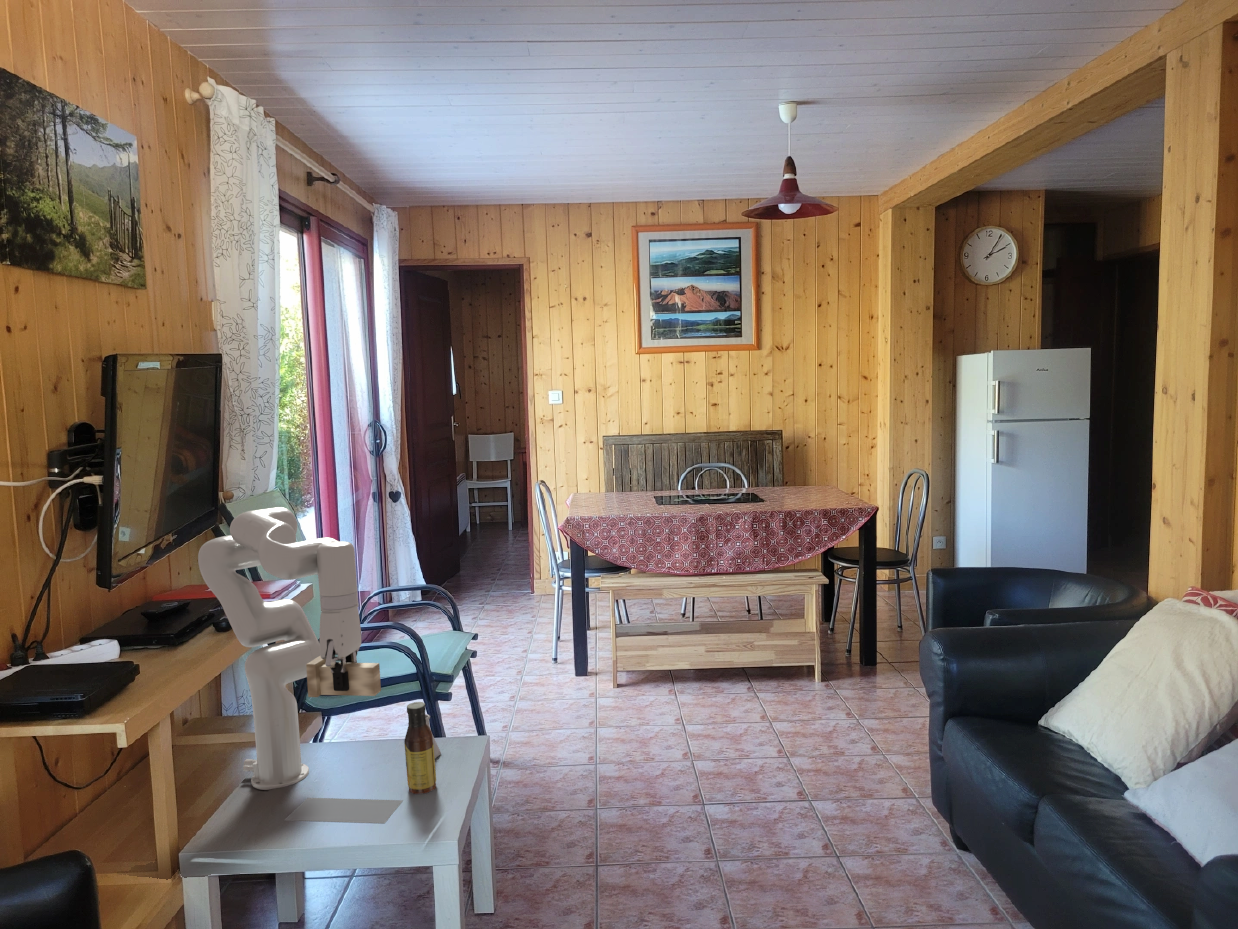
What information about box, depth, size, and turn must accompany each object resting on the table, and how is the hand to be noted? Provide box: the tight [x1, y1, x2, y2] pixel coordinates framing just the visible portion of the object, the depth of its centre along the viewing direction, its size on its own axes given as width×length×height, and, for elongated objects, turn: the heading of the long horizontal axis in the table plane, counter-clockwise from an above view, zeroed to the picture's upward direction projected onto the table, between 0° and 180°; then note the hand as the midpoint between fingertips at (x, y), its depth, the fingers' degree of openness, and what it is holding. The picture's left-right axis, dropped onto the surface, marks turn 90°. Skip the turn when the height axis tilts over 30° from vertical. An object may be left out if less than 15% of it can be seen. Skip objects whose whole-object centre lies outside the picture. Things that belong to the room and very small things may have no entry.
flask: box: [425, 713, 442, 759], centre depth 212 cm, size 7×7×10 cm
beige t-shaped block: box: [306, 656, 382, 698], centre depth 183 cm, size 14×6×7 cm, turn 81°
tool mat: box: [284, 797, 404, 824], centre depth 185 cm, size 22×10×1 cm, turn 82°
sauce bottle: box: [403, 701, 437, 795], centre depth 193 cm, size 7×6×20 cm
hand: (345, 686), depth 183 cm, fingers closed on beige t-shaped block, 3 cm apart
